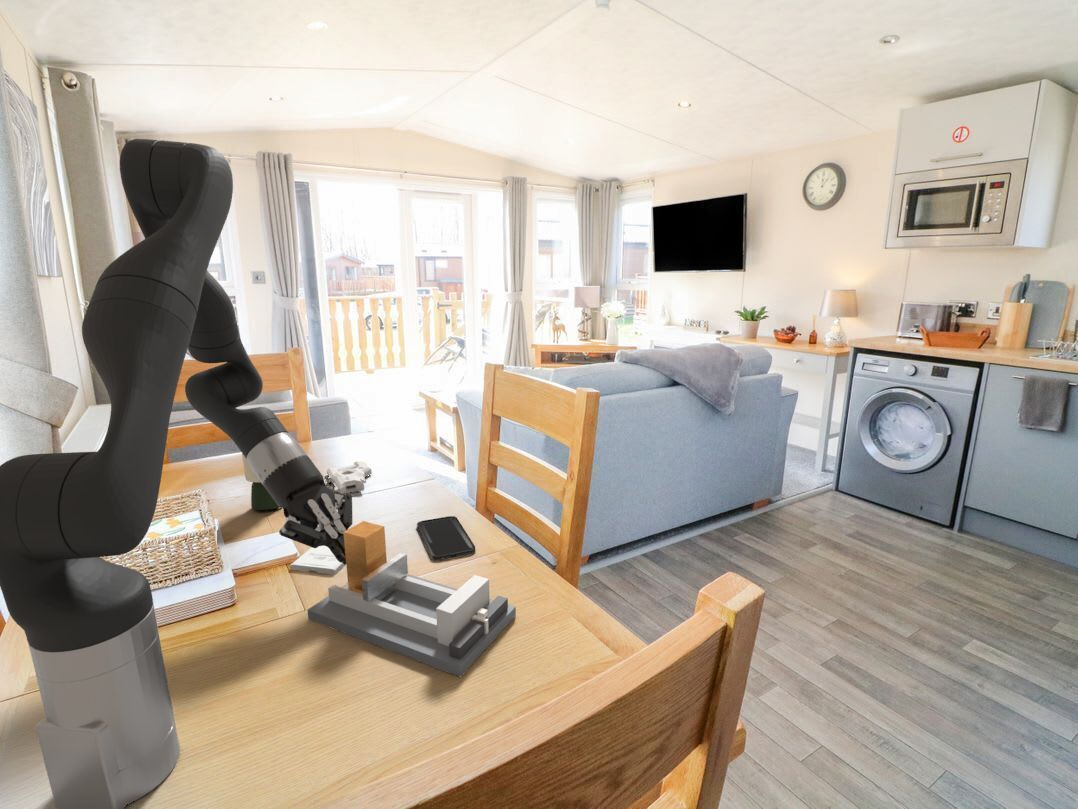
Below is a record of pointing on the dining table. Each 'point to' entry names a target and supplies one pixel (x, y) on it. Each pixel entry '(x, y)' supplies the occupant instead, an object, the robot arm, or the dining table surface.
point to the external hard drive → (318, 561)
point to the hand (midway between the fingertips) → (351, 559)
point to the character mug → (258, 490)
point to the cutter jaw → (371, 562)
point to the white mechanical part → (349, 477)
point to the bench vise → (421, 620)
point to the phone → (445, 538)
